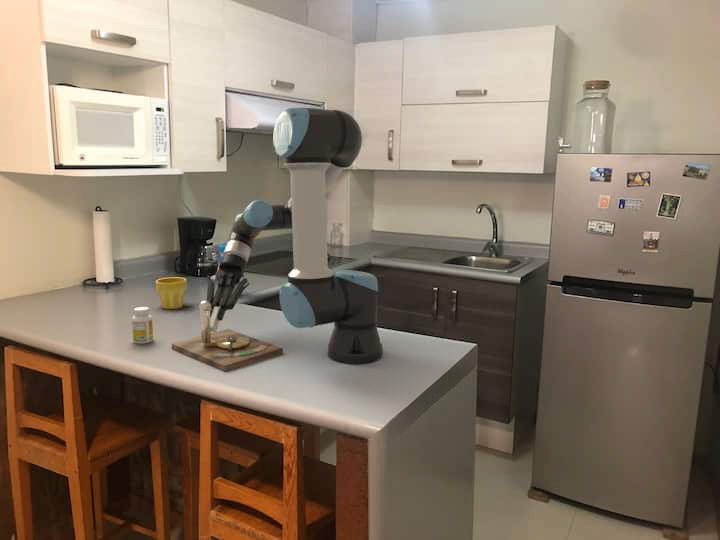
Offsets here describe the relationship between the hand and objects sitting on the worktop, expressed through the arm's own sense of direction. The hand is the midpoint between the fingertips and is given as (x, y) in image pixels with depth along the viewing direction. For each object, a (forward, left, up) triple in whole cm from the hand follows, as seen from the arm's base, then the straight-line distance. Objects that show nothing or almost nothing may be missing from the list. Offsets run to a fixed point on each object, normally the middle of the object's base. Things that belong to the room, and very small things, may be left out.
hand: (211, 329), depth 162 cm
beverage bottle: (+46, -39, -6) cm, 60 cm away
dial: (-5, -1, -4) cm, 6 cm away
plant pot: (+48, -16, -6) cm, 51 cm away
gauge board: (-5, -1, -5) cm, 7 cm away
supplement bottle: (+20, +10, -6) cm, 23 cm away
